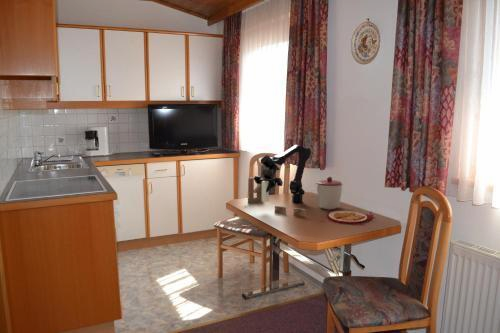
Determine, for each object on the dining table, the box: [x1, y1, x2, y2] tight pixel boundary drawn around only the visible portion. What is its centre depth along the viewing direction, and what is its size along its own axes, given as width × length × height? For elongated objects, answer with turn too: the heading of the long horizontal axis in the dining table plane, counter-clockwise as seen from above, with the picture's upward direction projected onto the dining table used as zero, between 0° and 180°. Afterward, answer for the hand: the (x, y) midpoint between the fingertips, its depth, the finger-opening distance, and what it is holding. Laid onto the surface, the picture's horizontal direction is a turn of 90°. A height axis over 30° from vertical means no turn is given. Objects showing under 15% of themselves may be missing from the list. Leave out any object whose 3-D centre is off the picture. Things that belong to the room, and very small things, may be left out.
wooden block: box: [247, 177, 263, 204], centre depth 287 cm, size 4×11×18 cm, turn 116°
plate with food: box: [320, 209, 374, 226], centre depth 245 cm, size 25×26×4 cm
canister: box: [315, 176, 344, 210], centre depth 270 cm, size 18×18×21 cm
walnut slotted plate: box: [274, 205, 306, 218], centre depth 255 cm, size 20×2×4 cm, turn 62°
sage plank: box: [261, 181, 270, 203], centre depth 261 cm, size 4×3×13 cm
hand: (264, 191), depth 260 cm, fingers closed on sage plank, 3 cm apart
